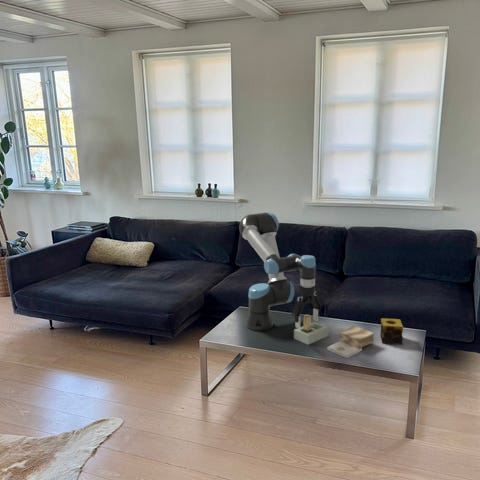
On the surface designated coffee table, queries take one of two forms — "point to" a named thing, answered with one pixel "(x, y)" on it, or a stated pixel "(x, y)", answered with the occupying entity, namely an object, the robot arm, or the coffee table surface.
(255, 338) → the coffee table surface
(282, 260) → the robot arm
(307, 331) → the peg
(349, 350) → the board
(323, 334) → the socket board
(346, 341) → the tan layered block
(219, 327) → the coffee table surface
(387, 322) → the candle
